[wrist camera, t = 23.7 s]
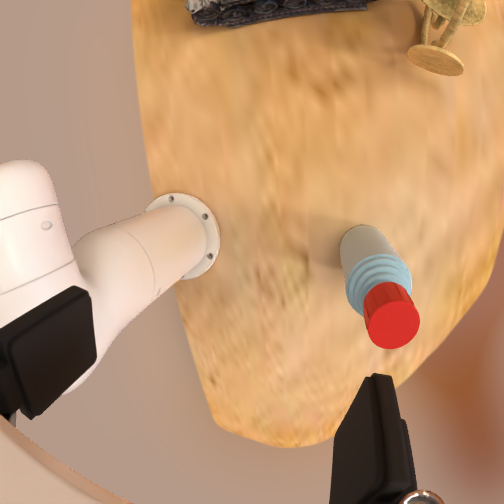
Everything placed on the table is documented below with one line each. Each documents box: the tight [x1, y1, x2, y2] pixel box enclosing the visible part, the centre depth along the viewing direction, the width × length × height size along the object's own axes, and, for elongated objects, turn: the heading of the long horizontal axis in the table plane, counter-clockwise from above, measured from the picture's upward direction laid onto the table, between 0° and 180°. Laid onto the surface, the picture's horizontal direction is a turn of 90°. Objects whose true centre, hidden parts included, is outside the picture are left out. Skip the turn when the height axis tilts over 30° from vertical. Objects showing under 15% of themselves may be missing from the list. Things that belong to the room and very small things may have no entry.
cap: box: [363, 282, 420, 349], centre depth 22 cm, size 4×4×4 cm
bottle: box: [340, 225, 412, 317], centre depth 30 cm, size 6×6×20 cm
